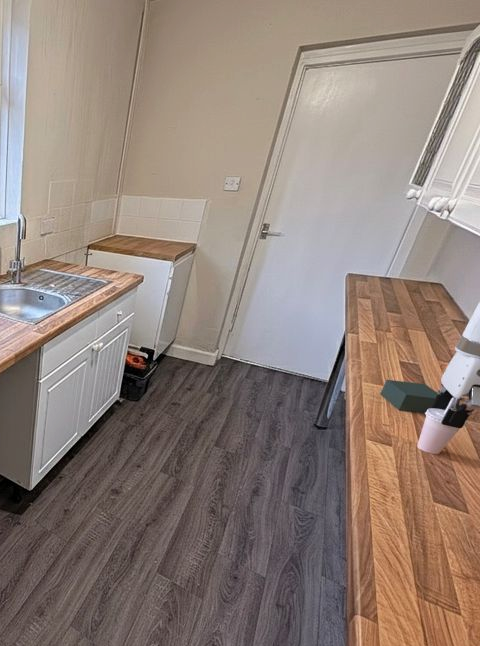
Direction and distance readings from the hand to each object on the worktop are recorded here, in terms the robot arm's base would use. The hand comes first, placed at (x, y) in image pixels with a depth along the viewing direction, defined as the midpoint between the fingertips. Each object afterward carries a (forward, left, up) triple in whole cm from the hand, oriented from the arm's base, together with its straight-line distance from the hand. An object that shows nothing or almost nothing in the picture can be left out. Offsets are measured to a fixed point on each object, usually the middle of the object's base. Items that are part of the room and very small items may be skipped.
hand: (445, 417), depth 96 cm
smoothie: (0, 0, -9) cm, 9 cm away
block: (-2, -25, -9) cm, 27 cm away
